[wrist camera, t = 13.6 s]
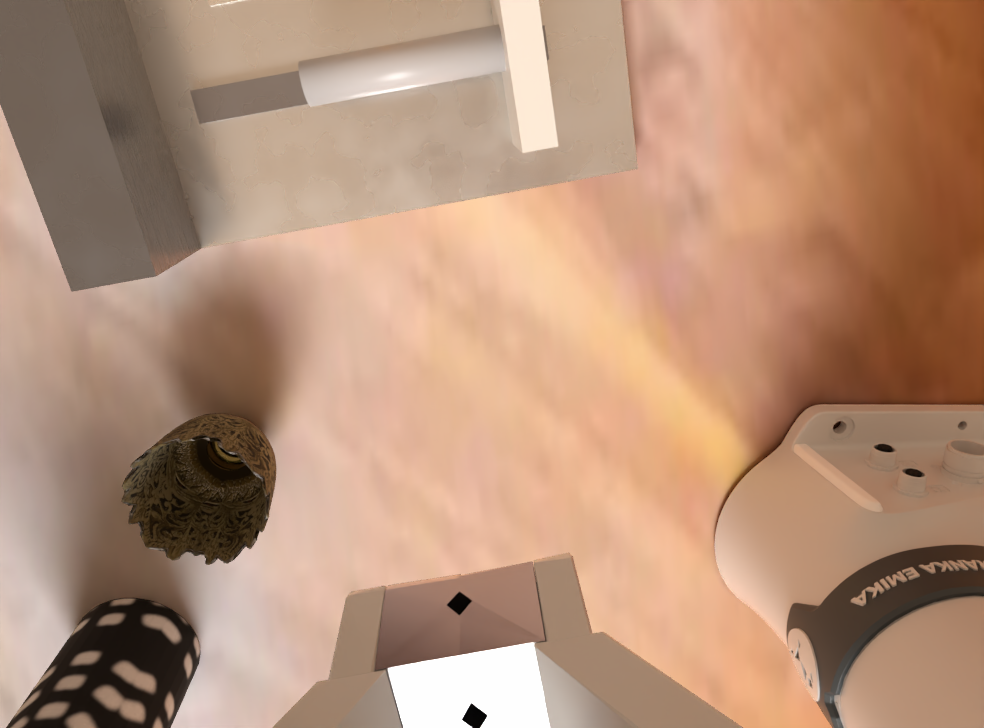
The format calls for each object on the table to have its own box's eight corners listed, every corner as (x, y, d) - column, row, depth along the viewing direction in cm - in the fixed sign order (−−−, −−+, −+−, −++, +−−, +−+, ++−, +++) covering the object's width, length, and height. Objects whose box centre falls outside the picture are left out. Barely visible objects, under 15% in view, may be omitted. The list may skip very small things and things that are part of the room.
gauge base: (601, -123, 37) (639, -178, 29) (631, 166, 42) (670, 183, 34) (46, -19, 37) (-58, -47, 30) (140, 255, 42) (71, 291, 34)
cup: (166, 476, 47) (111, 550, 39) (184, 370, 44) (129, 426, 37) (285, 502, 48) (254, 579, 40) (308, 400, 45) (279, 461, 38)
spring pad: (507, -117, 35) (517, -157, 29) (543, 138, 39) (558, 146, 33) (278, -74, 35) (244, -106, 29) (338, 175, 39) (318, 190, 33)
